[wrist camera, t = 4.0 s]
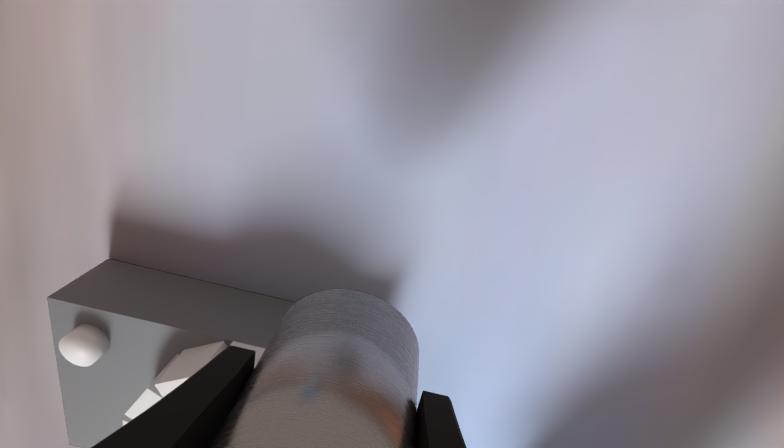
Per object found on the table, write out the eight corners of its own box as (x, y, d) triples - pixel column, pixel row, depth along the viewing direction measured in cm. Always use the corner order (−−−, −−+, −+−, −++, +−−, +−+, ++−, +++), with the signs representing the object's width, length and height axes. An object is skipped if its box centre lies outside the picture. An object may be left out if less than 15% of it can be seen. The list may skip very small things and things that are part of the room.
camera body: (382, 323, 20) (365, 412, 15) (352, 447, 24) (329, 553, 19) (108, 258, 20) (0, 326, 15) (118, 392, 24) (33, 482, 19)
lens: (439, 305, 11) (445, 584, 5) (404, 419, 12) (381, 720, 7) (280, 269, 11) (115, 509, 5) (268, 388, 12) (134, 662, 7)
